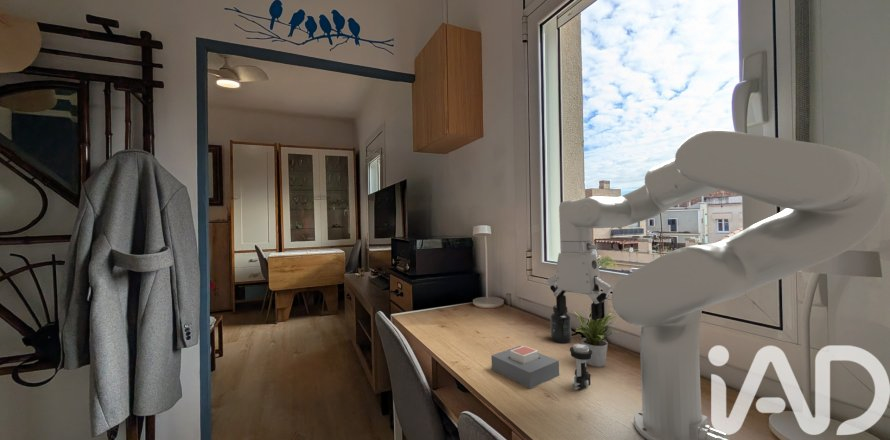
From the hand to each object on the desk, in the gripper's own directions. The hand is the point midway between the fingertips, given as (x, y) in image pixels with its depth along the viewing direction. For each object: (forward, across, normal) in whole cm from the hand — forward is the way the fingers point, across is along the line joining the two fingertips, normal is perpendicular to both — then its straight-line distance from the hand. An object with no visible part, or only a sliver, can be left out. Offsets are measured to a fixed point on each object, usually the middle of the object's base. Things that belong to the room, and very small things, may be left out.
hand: (578, 314), depth 81 cm
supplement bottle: (+18, +23, -25) cm, 39 cm away
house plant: (+18, +4, -16) cm, 25 cm away
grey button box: (+18, +14, +5) cm, 23 cm away
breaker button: (+15, +14, +5) cm, 22 cm away
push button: (+18, 0, 0) cm, 18 cm away
